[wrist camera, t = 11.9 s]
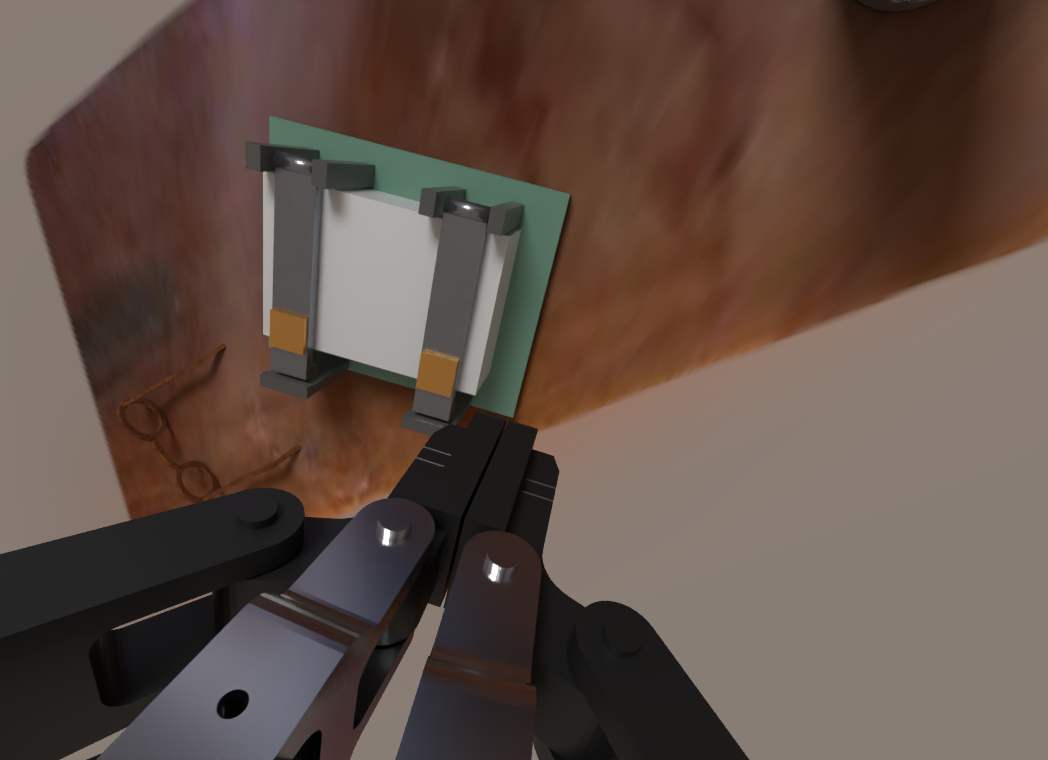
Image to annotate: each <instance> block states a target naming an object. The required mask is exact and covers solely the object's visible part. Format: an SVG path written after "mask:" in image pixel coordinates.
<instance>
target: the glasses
mask: <svg viewBox="0 0 1048 760" xmlns="http://www.w3.org/2000/svg"><path fill="white" fill-rule="evenodd" d="M225 347H226V346H225V345H224V344H222V345H221V346H219V347H218V348H216V349H215V350H213V351H212V352H210V353H209V354H207V355H206V356H204V357H203V358H201V359H200V360H198V361H197V362H195V363H194V364H192V365H190V366H188V367H186V368H184V369H182V370H180V371H179V372H177V373H175V374H173V375H171V376H169V377H167V378H165V379H164V380H162V381H160V382H158V383H157V384H155V385H153V386H152V387H150V388H148V389H146V390H145V391H143V392H141V393H140V394H138V395H136V396H135V397H132V398H129V399H127V400H125V401H123V402H122V403H121V404H120V405H119V406H118V408H117V418H118V420H119V422H120V424H121V425H122V427H123V428H124V429H125V430H126V431H127V432H128V433H129V434H131V435H132V436H134V437H136V438H138V439H141V440H144V441H151V445H152V447H153V449H154V450H155V451H156V453H157V454H158V455H159V456H160V457H161V458H162V460H163V461H164V462H165V463H166V464H167V465H168V466H169V467H171V468H173V469H175V471H174V474H173V476H174V483H175V486H176V488H177V490H178V491H179V493H180V494H181V495H182V496H183V497H184V498H186V499H187V500H189V501H190V502H193V503H199V502H203V501H207V500H209V499H211V498H212V497H214V496H216V495H218V494H220V493H222V492H223V491H225V490H227V489H229V488H231V487H233V486H235V485H237V484H239V483H240V482H242V481H244V480H246V479H248V478H250V477H252V476H255V475H258V474H261V473H263V472H265V471H268V470H270V469H272V468H275V467H276V466H278V465H279V464H280V463H282V462H283V461H284V460H286V459H287V458H288V457H290V456H291V455H292V454H294V453H295V452H296V451H298V450H299V449H300V448H302V447H301V446H300V445H298V446H295V447H293V448H292V449H291V450H289V451H288V452H287V453H285V454H284V455H283V456H281V457H280V458H278V459H277V460H276V461H274V462H273V463H271V464H269V465H267V466H265V467H262V468H260V469H257V470H255V471H252V472H250V473H248V474H246V475H244V476H242V477H241V478H239V479H237V480H235V481H233V482H231V483H229V484H227V485H226V486H224V487H222V488H220V489H218V490H217V487H218V484H217V480H216V477H215V476H214V474H213V473H212V472H211V471H210V470H209V468H208V467H207V466H206V465H205V464H203V463H201V462H199V461H190V462H187V463H184V464H183V465H181V466H180V465H178V464H177V463H176V462H174V461H173V460H172V458H171V457H170V456H169V455H168V454H167V452H166V451H165V450H164V449H163V448H162V447H161V445H160V444H159V442H158V440H157V437H158V436H160V435H161V434H162V433H163V432H164V430H165V429H166V427H167V421H166V418H165V416H164V414H163V413H162V412H161V411H160V410H159V408H158V407H157V406H156V405H155V404H154V403H153V402H152V401H150V400H148V399H146V398H142V397H143V396H145V395H147V394H148V393H150V392H152V391H153V390H155V389H157V388H159V387H160V386H162V385H164V384H165V383H167V382H169V381H171V380H172V379H174V378H176V377H178V376H180V375H181V374H183V373H185V372H187V371H189V370H191V369H193V368H195V367H197V366H198V365H200V364H201V363H203V362H204V361H206V360H207V359H209V358H210V357H211V356H213V355H214V354H216V353H217V352H219V351H220V350H222V349H223V348H225ZM133 403H140V404H143V405H146V406H147V407H149V408H150V409H151V410H152V411H153V412H154V413H155V414H156V416H157V418H158V420H159V428H158V429H157V430H156V431H155V432H154V433H152V434H145V433H142V432H139V431H138V430H136V429H135V428H134V427H133V426H132V425H131V424H130V423H129V422H128V420H127V418H126V415H125V410H126V408H127V406H128V405H129V404H133ZM188 467H197V468H199V469H201V470H202V471H203V472H204V473H205V474H206V475H207V477H208V478H209V480H210V484H211V488H210V491H209V493H208V494H207V495H206V496H204V497H197V496H194V495H192V494H191V493H189V492H188V491H187V489H186V488H185V487H184V485H183V483H182V478H181V477H182V472H183V471H184V470H185V469H186V468H188Z"/></svg>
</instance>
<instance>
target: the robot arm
mask: <svg viewBox="0 0 1048 760" xmlns="http://www.w3.org/2000/svg"><path fill="white" fill-rule="evenodd" d="M858 1H859V2H861V3H862V4H863V5H866V6H869V7H871V8H874V9H876V10H881V11H891V12H897V11H905V10H912V9H915V8H918V7H921V6H924V5H927V4H930V3H932V2H934V1H936V0H858ZM506 424H507V419H503V418H500V417H497V416H494V415H490V414H487V413H484V412H481V411H477V413H476V414H475V416H474V417H473V419H472V421H471V423H470V424H469V426H468V428H467V429H465V428H462V427H459V426H456V425H453V424H449V425H447V426H445V427H443V428H441V429H439V430H438V431H436V432H434V433H433V435H432V436H431V437H430V439H429V440H428V442H427V443H426V444H425V447H424V448H423V449H422V450H421V451H420V453H419V454H418V456H417V459H415V460H414V461H413V463H412V464H411V466H410V467H409V468H408V470H407V471H406V473H405V474H404V475H403V477H402V478H401V480H400V481H399V482H398V484H397V485H396V487H395V488H394V489H393V491H392V492H391V494H390V495H389V497H388V498H386V499H381V500H377V501H374V502H372V503H370V504H368V505H366V506H365V507H363V508H362V509H361V510H360V511H359V512H358V513H357V514H356V516H355V517H353V518H345V519H332V518H315V517H304V515H305V513H304V507H303V504H302V503H301V501H300V500H299V499H298V498H297V497H296V496H294V495H293V494H291V493H289V492H286V491H284V490H280V489H274V488H257V489H250V490H245V491H242V492H238V493H234V494H230V495H226V496H222V497H219V498H215V499H211V500H207V501H203V502H199V503H195V504H192V505H188V506H184V507H180V508H176V509H172V510H169V511H165V512H161V513H157V514H153V515H149V516H146V517H142V518H138V519H134V520H130V521H126V522H122V523H119V524H115V525H111V526H108V527H103V528H99V529H96V530H92V531H88V532H84V533H80V534H76V535H73V536H69V537H65V538H61V539H57V540H53V541H50V542H46V543H42V544H38V545H34V546H30V547H27V548H23V549H19V550H15V551H12V552H7V553H4V554H0V760H59V759H62V758H64V757H66V756H68V755H70V754H72V753H74V752H76V751H78V750H80V749H82V748H84V747H87V746H88V745H91V744H93V743H95V742H97V741H99V740H101V739H103V738H105V737H107V736H109V735H112V734H114V733H116V732H118V731H120V730H122V729H124V728H126V727H127V728H126V729H125V730H124V731H123V732H122V733H121V734H120V735H119V737H118V738H116V739H115V741H114V742H113V743H112V744H111V745H110V746H109V747H108V748H107V749H106V750H105V751H104V752H103V753H102V754H99V755H97V756H94V757H92V758H90V759H87V760H350V758H351V756H352V753H353V750H354V748H355V746H356V744H357V742H358V740H359V738H360V736H361V734H362V732H363V730H364V728H365V726H366V725H367V723H368V721H369V719H370V717H371V715H372V714H373V712H374V710H375V708H376V706H377V704H378V702H379V701H380V699H381V697H382V695H383V693H384V691H385V689H386V688H387V686H388V684H389V682H390V680H391V678H392V676H393V675H394V673H395V671H396V669H397V667H398V665H399V664H400V662H401V660H402V658H403V656H404V654H405V652H406V650H407V649H408V647H409V645H410V643H411V641H412V638H413V636H414V631H415V629H416V627H417V625H418V624H419V622H420V619H421V617H422V615H423V613H424V610H425V608H426V606H427V604H428V603H429V604H432V605H435V606H438V607H440V606H441V604H442V601H443V599H444V597H445V594H446V592H447V595H446V600H445V604H444V608H445V609H444V613H443V616H442V619H441V622H440V626H439V629H438V632H437V635H436V638H435V642H434V645H433V648H432V651H431V654H430V656H428V659H427V661H426V664H425V667H424V670H423V673H422V677H421V679H420V683H419V686H418V689H417V692H416V695H415V698H414V702H413V705H412V708H411V711H410V714H409V718H408V721H407V724H406V727H405V731H404V733H403V737H402V740H401V743H400V746H399V749H398V753H397V756H396V759H395V760H531V758H532V747H533V743H534V748H535V750H536V753H537V756H538V758H539V760H749V759H748V757H747V756H746V755H745V753H744V752H743V751H742V749H741V748H740V746H739V745H738V744H737V742H736V741H735V740H734V738H733V737H732V736H731V734H730V733H729V731H728V730H727V729H726V728H725V726H724V724H723V723H722V722H721V720H720V719H719V718H718V716H717V715H716V713H715V712H714V711H713V710H712V708H711V707H710V705H709V704H708V703H707V701H706V700H705V699H704V697H703V696H702V694H701V693H700V692H699V690H698V689H697V687H696V686H695V685H694V683H693V682H692V681H691V679H690V678H689V677H688V675H687V674H686V672H685V671H684V670H683V668H682V667H681V665H680V664H679V663H678V661H677V660H676V659H675V657H674V656H673V655H672V653H671V652H670V650H669V649H668V648H667V646H666V645H665V644H664V642H663V641H662V639H661V638H660V637H659V636H658V634H657V633H656V631H655V630H654V628H653V627H652V626H651V625H650V624H649V622H648V621H647V620H646V619H645V618H644V617H643V616H641V615H640V614H639V613H638V612H636V611H634V610H633V609H631V608H630V607H628V606H625V605H623V604H620V603H617V602H612V601H599V602H594V603H592V604H590V605H588V606H587V607H584V606H582V605H581V604H579V603H578V602H576V601H575V600H573V599H572V598H570V597H569V596H567V595H566V594H565V593H563V592H562V591H561V590H560V589H559V588H558V587H556V585H555V584H554V583H553V582H552V581H551V579H550V578H549V576H548V574H547V572H546V570H545V568H544V564H543V559H542V554H543V547H544V542H545V537H546V533H547V528H548V522H549V519H550V514H551V509H552V504H553V499H554V495H555V489H556V485H557V480H558V475H559V469H558V467H557V464H556V461H555V459H554V456H552V455H549V454H546V453H543V452H539V451H536V450H533V449H532V448H533V445H534V441H535V438H536V435H537V431H538V429H536V428H533V427H530V426H526V425H523V424H520V423H517V422H514V421H510V420H509V421H508V424H507V426H506ZM447 589H448V591H447ZM210 592H212V595H209V596H207V597H204V598H201V599H198V600H196V601H193V602H190V603H188V604H185V605H183V606H180V607H177V608H174V609H172V610H169V611H166V612H164V613H161V614H158V615H156V616H153V617H151V618H148V619H145V620H142V621H139V622H137V623H134V624H131V625H129V626H126V627H123V628H120V629H116V630H112V629H114V628H116V627H118V626H120V625H123V624H126V623H128V622H131V621H134V620H137V619H139V618H142V617H145V616H147V615H150V614H152V613H156V612H158V611H161V610H164V609H166V608H169V607H172V606H175V605H177V604H180V603H183V602H185V601H188V600H191V599H193V598H196V597H199V596H201V595H204V594H207V593H210Z"/></svg>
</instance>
